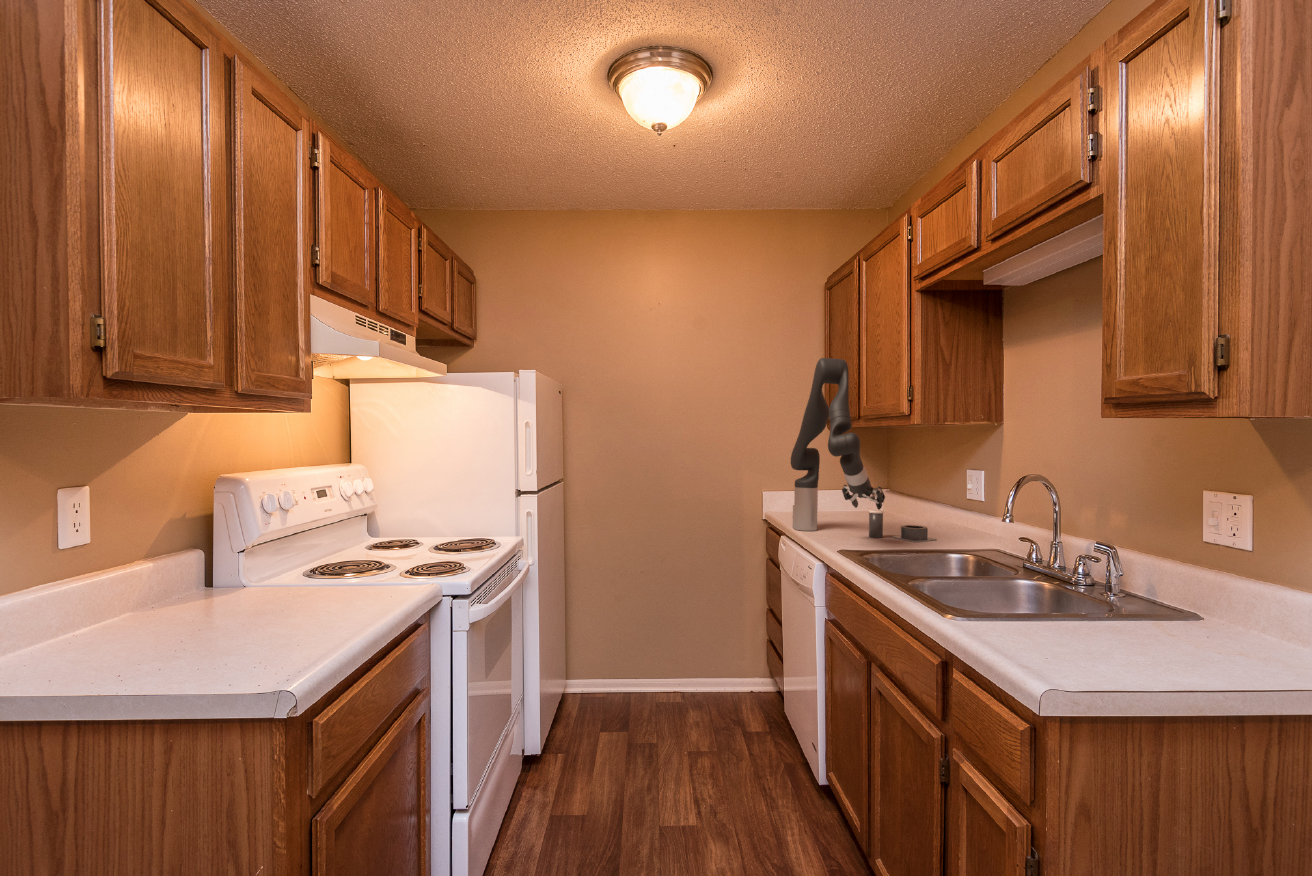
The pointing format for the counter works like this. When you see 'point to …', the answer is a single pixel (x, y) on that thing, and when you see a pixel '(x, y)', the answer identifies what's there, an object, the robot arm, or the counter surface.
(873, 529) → the grey round peg
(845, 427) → the robot arm
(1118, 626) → the counter surface
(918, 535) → the hex nut base plate
